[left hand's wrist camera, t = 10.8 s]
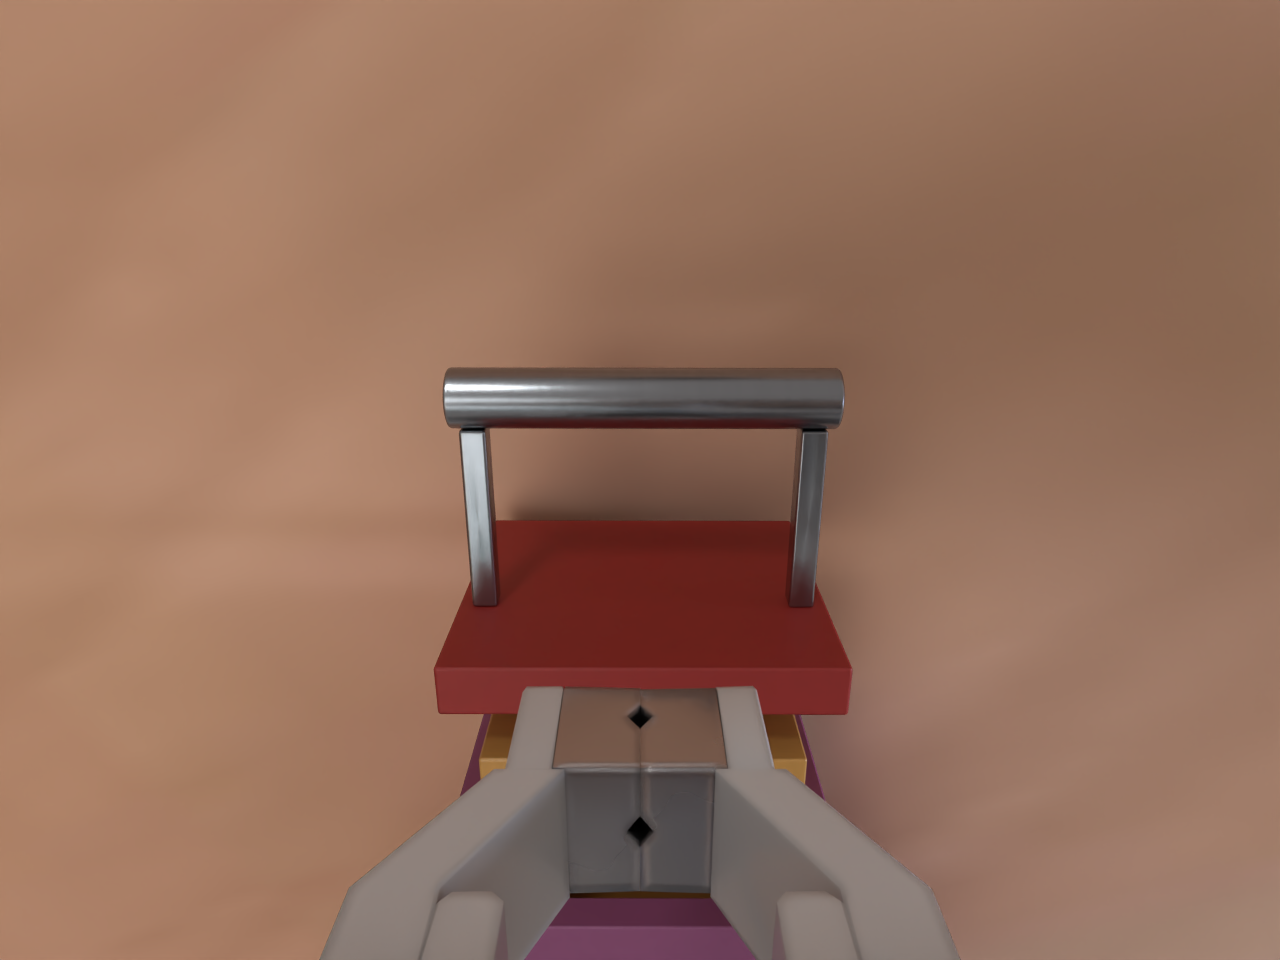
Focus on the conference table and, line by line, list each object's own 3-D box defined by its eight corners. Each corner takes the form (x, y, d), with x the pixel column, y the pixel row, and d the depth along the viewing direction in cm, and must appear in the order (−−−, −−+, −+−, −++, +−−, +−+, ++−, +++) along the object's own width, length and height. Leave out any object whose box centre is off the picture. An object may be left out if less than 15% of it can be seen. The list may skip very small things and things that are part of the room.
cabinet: (493, 678, 28) (420, 926, 19) (791, 679, 28) (864, 927, 18) (513, 952, 32) (462, 1259, 23) (769, 952, 32) (819, 1260, 23)
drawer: (482, 327, 22) (404, 403, 15) (804, 328, 22) (882, 403, 15) (515, 821, 29) (471, 1045, 21) (768, 821, 29) (812, 1046, 21)
